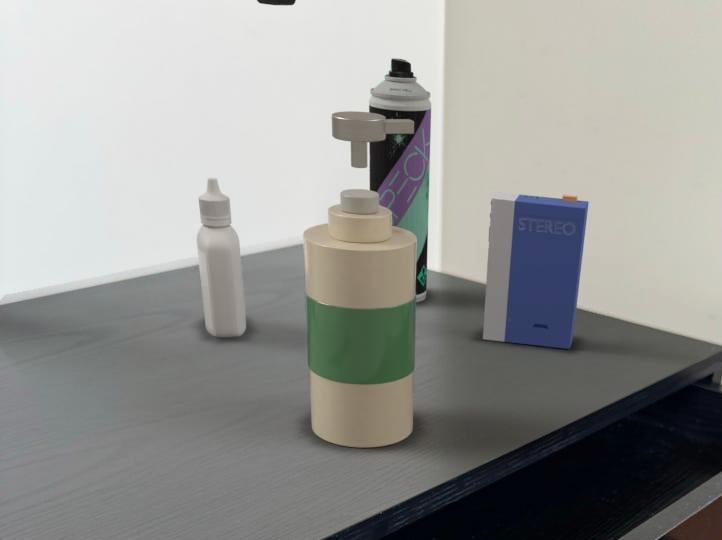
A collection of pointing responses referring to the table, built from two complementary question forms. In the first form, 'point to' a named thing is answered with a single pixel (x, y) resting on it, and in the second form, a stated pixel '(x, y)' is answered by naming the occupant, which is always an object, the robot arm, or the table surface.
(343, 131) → the pump
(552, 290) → the walkman
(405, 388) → the soap bottle
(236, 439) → the table surface
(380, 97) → the spray can
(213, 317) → the eye dropper bottle
